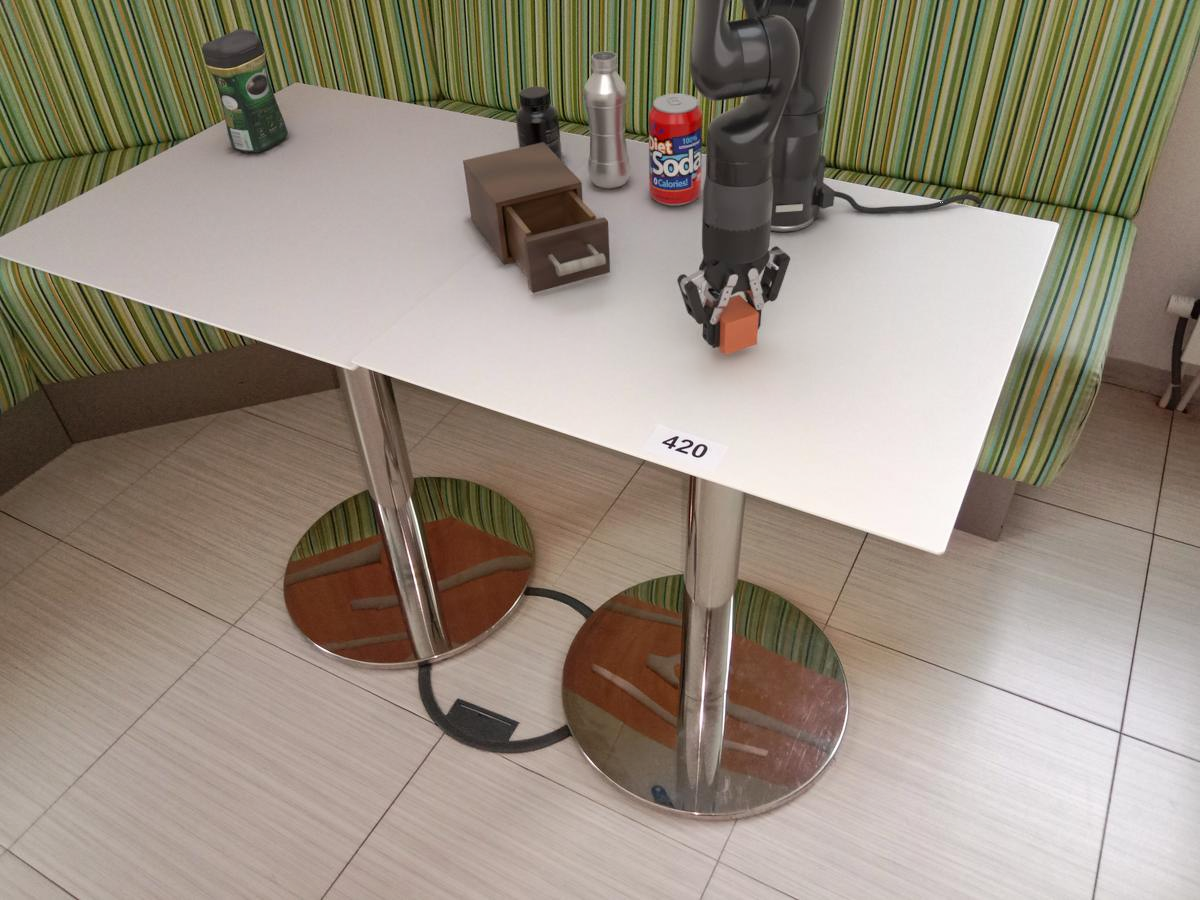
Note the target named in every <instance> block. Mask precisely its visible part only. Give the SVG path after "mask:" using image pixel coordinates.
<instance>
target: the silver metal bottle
mask: <svg viewBox="0 0 1200 900" xmlns="http://www.w3.org/2000/svg"><path fill="white" fill-rule="evenodd" d="M590 59H591V64H590V70H591V71H592V73H591V75H590V76H589V78H588V79H587V81H586V83H585V84H584V88H583V92H582V95H583V100H584V105H585V110H586V114H587V120H588V129H589V156H588V162H587V163H588V164H587V171H588V176H589V180H590V181H591V182H592V183H593V184H594V185H595V186H597V187H599V188H604V189H613V188H614V189H615V188H619V187H621V186H624V185H625V184H626V183H627V182H628V180H629V179H630V177H631V176H630V175H631V168H632V167H631V162H630V157H629V154H628V147H627V139H626V127H625V126H626V111H627V102H628V89H627V85H626V83H625V81H624V80H623V78H622V77H621V76H620V74H619V73H618V72H617V70H619V63H618V55H617V53H615V52H613V51H606V50H605V51H597V52H594V53H593V54H592V55H591V57H590Z"/></svg>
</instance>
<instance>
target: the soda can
mask: <svg viewBox="0 0 1200 900" xmlns="http://www.w3.org/2000/svg"><path fill="white" fill-rule="evenodd" d="M652 105H653V106H652V107H651V109H650V110H649V111H648V183H649V184H648V185H649V195H650V198H652V199H653V200H654V201H656V202H658V203H659V204H662V205H665V206H668V207H669V206H671V207H678V206H684V205H688V204H690V203H692V202H694V201H696V200H697V199H698V198H699V196H701V193H702V192H701V190H702V188H701V187H702V161H703V159H702V157H703V126H704V125H703V119H704V117H703V116H704V115H703V114H704V113H703V110H702V108H701V107H700V105H699V100H698V98H696V97H695V96H694V95H690V94H686V93H667V94H663V95H660V96H657V97H656V98H655V99H654V100H653V103H652Z"/></svg>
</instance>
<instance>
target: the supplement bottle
mask: <svg viewBox="0 0 1200 900" xmlns="http://www.w3.org/2000/svg"><path fill="white" fill-rule="evenodd" d="M550 93H551V92H550V90H549V88H547V87H545V86H537V85H536V86H529V87H526V88H523V89H521V90H520V91H519V94H518V96H519V106H520V107H519V109H518V110H516V113H515V124H516V132H517V141H518V148H520V147H524V146H529V145H533V144H538V143H542V142H544V143H545V144H546V145H547V146H548V147H549V148H550V149H551V150H552V152H553V153H554V154H555V155H556V156H557V157H558V158H559V159H560V160H561V161H562V162H563V155H562V141H561V131H560V121H559V114H558V110H557V108H556V107H555V106H554V105H552V104H551V102H552V100H551V94H550Z"/></svg>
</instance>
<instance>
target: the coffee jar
mask: <svg viewBox="0 0 1200 900" xmlns="http://www.w3.org/2000/svg"><path fill="white" fill-rule="evenodd" d="M201 51H202V54H203V59H204V63H205V67H206V69H207V71H208V72H209V74H211V76H212V77H213V80H214V82H215V85H216V88H217V92H218V95H219V100H220V103H221V107H222V111H223V116H224V121H225V127H226V130H227V134H228V138H229V141H230V142H229V143H230V145H231V146H232V148H234V149H235V150H237V151H239V152H241V153H245V154H246V153H247V154H248V153H261V152H263V151H265V150H269V149H270V148H272V147H274V146H275V145H277V144H279V143H281V142H282V141H283V140H285V139H286V138H287V137H288V128H287V125H286V123H285V119H284V117H283V114H282V111H281V110H280V107H279V105H278V102H277V99H276V96H275V93H274V90H273V88H272V85H271V82H270V79H269V75H268V71H267V64H266V52H265V49H264V47H263V45H262V42H261V39H260V37H259V36H258V34H256V32H255V31H253V30H248V29H243V28H236V29H235V30H233V31H230V32H229V33H226V34H223V35H222V36H219V37H217V38H215V39H213V40H210V41H207V42H204V43H203V45H202V47H201Z"/></svg>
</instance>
